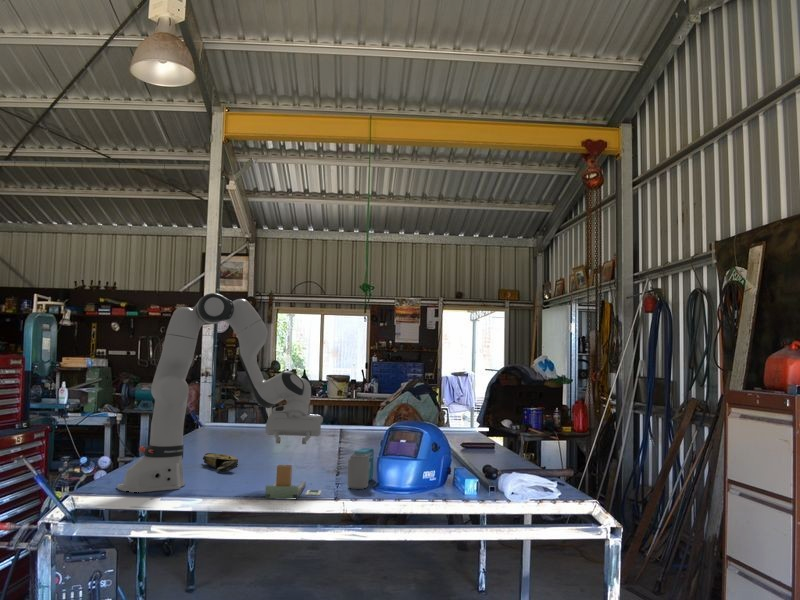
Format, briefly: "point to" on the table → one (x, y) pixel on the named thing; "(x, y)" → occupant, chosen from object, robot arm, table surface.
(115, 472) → the table surface
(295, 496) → the switch channel
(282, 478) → the orange brown box
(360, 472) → the can
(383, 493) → the table surface
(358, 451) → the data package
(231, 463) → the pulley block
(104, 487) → the table surface
